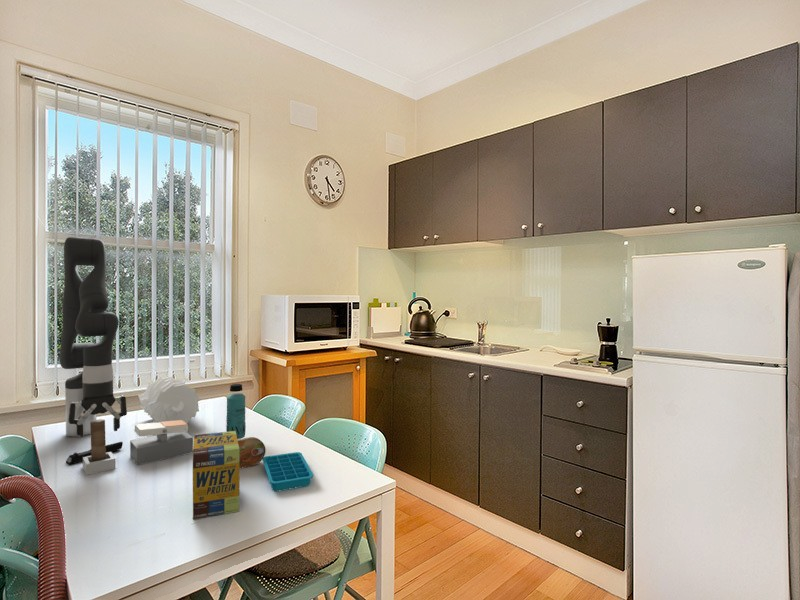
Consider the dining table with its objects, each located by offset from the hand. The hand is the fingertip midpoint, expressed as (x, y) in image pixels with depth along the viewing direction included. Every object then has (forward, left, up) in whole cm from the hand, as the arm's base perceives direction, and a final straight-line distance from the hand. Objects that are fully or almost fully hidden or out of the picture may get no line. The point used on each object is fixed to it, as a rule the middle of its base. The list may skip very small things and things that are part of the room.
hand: (98, 433), depth 133 cm
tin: (+26, +32, -11) cm, 43 cm away
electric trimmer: (-12, 0, -11) cm, 16 cm away
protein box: (+44, +19, -11) cm, 49 cm away
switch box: (0, +17, -10) cm, 20 cm away
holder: (0, 0, -10) cm, 10 cm away
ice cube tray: (+41, +40, -11) cm, 58 cm away
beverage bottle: (+3, +40, -11) cm, 41 cm away
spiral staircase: (-35, +28, -11) cm, 46 cm away
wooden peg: (0, 0, -10) cm, 10 cm away
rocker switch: (0, +17, -2) cm, 17 cm away
